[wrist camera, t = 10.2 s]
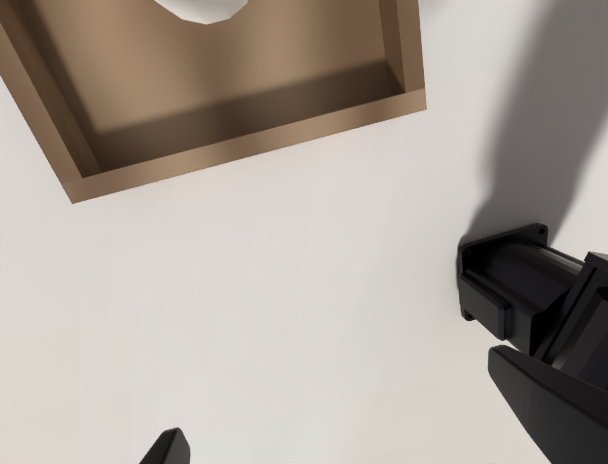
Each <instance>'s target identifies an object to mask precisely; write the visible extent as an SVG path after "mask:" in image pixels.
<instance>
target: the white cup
mask: <svg viewBox="0 0 608 464" xmlns="http://www.w3.org/2000/svg"><path fill="white" fill-rule="evenodd" d="M155 1H156V2H157V3H159V4H160V5H162V6H163V7H164V8H166V9H167V10H169V11H170V12H172V13H173V14H175V15H176V16H178V17H179V18H181V19H183V20H188V21H192V22H197V23H202V24H210V23H214V22H218V21H222V20H226V19H229V18H231V17H232V16H233V15H234V14H235V13H236V12H238V11H239V10H240V9H241V8H242V7H243V6H244V5H246V4H247V2H248V0H155Z"/></svg>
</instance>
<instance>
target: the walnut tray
mask: <svg viewBox="0 0 608 464" xmlns="http://www.w3.org/2000/svg"><path fill="white" fill-rule="evenodd" d="M0 76H1V77H2V79H3V81H4V83H5V84H6V86H7V88H8V90H9V92H10V93H11V95H12V97H13V99H14V101H15V102H16V104H17V106H18V108H19V110H20V111H21V113H22V115H23V117H24V119H25V120H26V122H27V124H28V126H29V127H30V129H31V131H32V133H33V135H34V136H35V138H36V140H37V142H38V144H39V145H40V147H41V149H42V151H43V153H44V154H45V156H46V158H47V160H48V161H49V163H50V165H51V167H52V169H53V170H54V172H55V174H56V176H57V178H58V179H59V181H60V183H61V185H62V187H63V188H64V190H65V192H66V194H67V196H68V197H69V199H70V201H71V203H72V204H74V203H78V202H81V201H85V200H89V199H93V198H96V197H100V196H104V195H108V194H111V193H115V192H119V191H123V190H126V189H130V188H134V187H138V186H141V185H145V184H149V183H153V182H156V181H160V180H164V179H168V178H171V177H175V176H179V175H183V174H186V173H190V172H194V171H198V170H201V169H205V168H209V167H213V166H216V165H220V164H224V163H227V162H231V161H235V160H239V159H242V158H246V157H250V156H254V155H257V154H261V153H265V152H269V151H272V150H276V149H280V148H284V147H287V146H291V145H295V144H299V143H302V142H306V141H310V140H314V139H317V138H321V137H325V136H329V135H332V134H336V133H340V132H344V131H347V130H351V129H355V128H359V127H362V126H366V125H370V124H374V123H377V122H381V121H385V120H389V119H392V118H396V117H400V116H404V115H407V114H411V113H415V112H419V111H422V110H426V109H427V107H426V95H425V82H424V70H423V57H422V45H421V32H420V19H419V7H418V0H248V2H247V4H246V5H244V6H243V7H242V8H241V9H240V10H239V11H238V12H236V13H235V14H234V15H233V16H232V17H231V18H229V19H226V20H222V21H218V22H214V23H210V24H202V23H197V22H192V21H188V20H183V19H181V18H179V17H178V16H176V15H175V14H173V13H172V12H170V11H169V10H167V9H166V8H164V7H163V6H162V5H160V4H159V3H157V2H156V1H155V0H0Z"/></svg>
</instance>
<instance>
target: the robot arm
mask: <svg viewBox="0 0 608 464" xmlns="http://www.w3.org/2000/svg"><path fill="white" fill-rule="evenodd" d="M547 235H548V227H547V226H546V225H543V224H540V223H536V224H533V225H529V226H526V227H523V228H519V229H516V230H512V231H509V232H505V233H502V234H499V235H495V236H492V237H488V238H485V239H481V240H478V241H475V242H471V243H468V244H464V245H462V246H461V247H460V249H459V251H458V257H459V277H458V281H459V300H460V305H461V315H462V317H463V318H464V319H465V320H467V321H472V320H475V319H476V320H478V321H479V322H480V323H481V324H482V325H483V326H484V327H485V328H486V329H487V330H489V331H490V332H491V333H492V334H493V335H494V336H495V337H496V338H497V339H499V340H501V341H504V340H508V341H509V342H510V343H511V344H512V345H513V346H514V347H516V348H517V349H518V350H519V351H520V352H519V351H517V350H515V349H513V348H511V347H509V346H506V345H499V346H495V347H491V348H490V349H489V352H488V372H489V374H490V377H491V378H492V380H493V381H494V383H495V384H496V386H497V387H498V389H499V391H500V392H501V394H502V395H503V397H504V398H505V400H506V401H507V403H508V404H509V406H510V407H511V409H512V410H513V412H514V414H515V415H516V417H517V418H518V420H519V421H520V423H521V424H522V426H523V427H524V428H525V430H526V431H527V433H528V434H529V435H530V437H531V438H532V439H533V441H534V442H535V443H536V445H537V446H538V447H539V448H540V450H541V451H542V452H543V454H544V455H545V456H546V457H547V459H548V460H549V461H550V462H551V464H608V255H607V254H601V253H596V252H590V251H589V252H588V254H587V256H586V257H585V259H584V261H585V262H583V261H581V260H578V259H576V258H574V257H571V256H569V255H567V254H564V253H562V252H560V251H558V250H555V249H553V248H551V247H548V246H547ZM467 250H468V252H467V253H466V254H465V252H466V251H467ZM139 464H190V447H189V444H188V442H187V440H186V438H185V436H184V434H183V432H182V430H181V429H180V428H178V427H177V428H173V429H169V430H165V431H164V432H163V433H162V434H161V435H160V436H159V438H158V439H157V440H156V442H155V443H154V444H153V446H152V447H151V448H150V450H149V451H148V452H147V454H146V455H145V456H144V458H143V459H142V460H141V462H140V463H139Z"/></svg>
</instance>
